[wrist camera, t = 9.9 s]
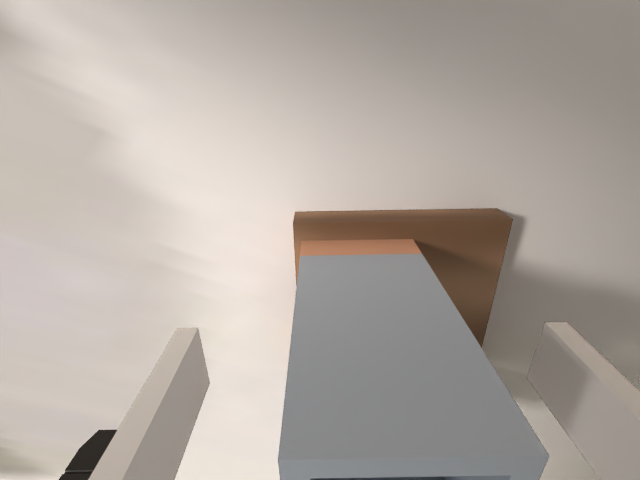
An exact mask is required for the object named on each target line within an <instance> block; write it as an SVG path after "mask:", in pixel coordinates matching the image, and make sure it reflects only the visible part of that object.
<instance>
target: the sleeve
mask: <svg viewBox="0 0 640 480" xmlns="http://www.w3.org/2000/svg"><path fill="white" fill-rule="evenodd" d="M548 458H549V454H548V453H547V451H546V450H545V448H544V446H543V445H542V443H541V442H540V440H539V438H538V437H537V435H536V434H535V432H534V430H533V429H532V427H531V426H530V424H529V423H528V421H527V419H526V418H525V416H524V415H523V413H522V411H521V410H520V408H519V407H518V405H517V403H516V402H515V400H514V399H513V397H512V396H511V394H510V392H509V391H508V389H507V388H506V386H505V384H504V383H503V381H502V380H501V378H500V376H499V375H498V373H497V372H496V370H495V369H494V367H493V365H492V364H491V362H490V361H489V359H488V357H487V356H486V354H485V353H484V351H483V350H482V348H481V346H480V345H479V343H478V342H477V340H476V338H475V337H474V335H473V334H472V332H471V330H470V329H469V327H468V326H467V324H466V323H465V321H464V319H463V318H462V316H461V315H460V313H459V311H458V310H457V308H456V307H455V305H454V303H453V302H452V300H451V299H450V297H449V296H448V294H447V292H446V291H445V289H444V288H443V286H442V284H441V283H440V281H439V280H438V278H437V276H436V275H435V273H434V272H433V270H432V269H431V267H430V265H429V264H428V262H427V261H426V259H425V257H424V256H423V254H422V253H421V251H420V249H419V248H418V246H417V245H416V243H415V242H414V240H413V239H389V240H329V241H302V242H301V251H300V260H299V270H298V279H297V288H296V298H295V307H294V316H293V326H292V335H291V344H290V354H289V363H288V372H287V382H286V391H285V400H284V410H283V419H282V428H281V438H280V447H279V456H278V464H279V473H280V480H539V479H540V477H541V474H542V472H543V470H544V467H545V465H546V463H547V460H548Z"/></svg>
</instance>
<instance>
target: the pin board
mask: <svg viewBox="0 0 640 480" xmlns="http://www.w3.org/2000/svg"><path fill="white" fill-rule="evenodd" d="M512 221H513V219H512V218H510V217H509V216H507V215H506V214H504V213H503V212H501V211H500V210H498V209H497V208H494V209H434V210H375V211H315V212H295V216H294V221H293V229H294V248H295V267H296V285H297V279H298V270H299V260H300V251H301V242H302V241H329V240H389V239H413V240H414V242H415V243H416V245H417V246H418V248H419V249H420V251H421V253H422V254H423V256H424V257H425V259H426V261H427V262H428V264H429V265H430V267H431V269H432V270H433V272H434V273H435V275H436V276H437V278H438V280H439V281H440V283H441V284H442V286H443V288H444V289H445V291H446V292H447V294H448V296H449V297H450V299H451V300H452V302H453V303H454V305H455V307H456V308H457V310H458V311H459V313H460V315H461V316H462V318H463V319H464V321H465V323H466V324H467V326H468V327H469V329H470V330H471V332H472V334H473V335H474V337H475V338H476V340H477V342H478V343H479V345H480V346H481V348H482V344H483V339H484V335H485V331H486V327H487V323H488V319H489V315H490V311H491V307H492V303H493V299H494V294H495V290H496V286H497V282H498V278H499V274H500V270H501V266H502V262H503V258H504V253H505V249H506V245H507V241H508V237H509V233H510V229H511V225H512Z"/></svg>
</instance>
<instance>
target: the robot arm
mask: <svg viewBox="0 0 640 480" xmlns="http://www.w3.org/2000/svg"><path fill="white" fill-rule="evenodd" d="M527 379H528V381H529V382H530V383H531V385H532V386H533V388H534V389H535V390H536V392H537V393H538V394H539V396H540V397H541V399H542V400H543V401H544V403H545V404H546V406H547V407H548V408H549V410H550V411H551V413H552V414H553V415H554V417H555V418H556V419H557V421H558V422H559V424H560V425H561V426H562V428H563V429H564V431H565V432H566V433H567V435H568V436H569V437H570V439H571V440H572V442H573V443H574V444H575V446H576V447H577V449H578V450H579V451H580V453H581V454H582V456H583V457H584V458H585V460H586V461H587V462H588V464H589V465H590V467H591V468H592V469H593V471H594V472H595V474H596V475H597V476H598V478H599V479H600V480H640V391H639V390H638V389H637V388H636V387H635V386H634V385H633V384H632V383H631V382H629V381H628V380H627V379H626V378H625V377H624V376H623V375H622V374H621V373H620V372H619V371H618V370H617V369H616V368H615V367H614V366H612V365H611V364H610V363H609V362H608V361H607V360H606V359H605V358H604V357H603V356H602V355H601V354H600V353H599V352H598V351H597V350H595V349H594V348H593V347H592V346H591V345H590V344H589V343H588V342H587V341H586V340H585V339H584V338H583V337H582V336H581V335H580V334H578V333H577V332H576V331H575V330H574V329H573V328H572V327H571V326H570V325H569V324H568V323H567V322H545V324H544V327H543V330H542V333H541V336H540V339H539V342H538V345H537V348H536V351H535V354H534V357H533V360H532V363H531V366H530V369H529V372H528V375H527ZM209 384H210V382H209V377H208V372H207V367H206V363H205V358H204V353H203V349H202V344H201V339H200V335H199V330H198V328H177V329H176V331H175V333H174V334H173V336H172V338H171V339H170V341H169V343H168V345H167V346H166V348H165V350H164V351H163V353H162V355H161V357H160V358H159V360H158V362H157V363H156V365H155V367H154V368H153V370H152V372H151V374H150V375H149V377H148V379H147V380H146V382H145V384H144V386H143V387H142V389H141V391H140V392H139V394H138V396H137V397H136V399H135V401H134V403H133V404H132V406H131V408H130V409H129V411H128V413H127V414H126V416H125V418H124V420H123V421H122V423H121V425H120V426H119V428H118V430H98V431H97V432H96V433H95V434H94V435H93V436H92V437H91V438H90V439H89V440H88V441H87V442H86V443H85V444H84V445H83V446H82V447H81V448H80V449H79V450H78V452H77V453H76V455H75V456H74V458H73V459H72V461H71V462H70V464H69V465H68V467H67V468H66V470H65V473H64V474H62V476H61V477H60V479H59V480H174V479H175V476H176V474H177V471H178V468H179V465H180V463H181V460H182V457H183V455H184V452H185V449H186V446H187V444H188V441H189V438H190V436H191V433H192V430H193V427H194V425H195V422H196V419H197V416H198V414H199V411H200V408H201V406H202V403H203V400H204V397H205V395H206V392H207V389H208V386H209Z"/></svg>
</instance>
